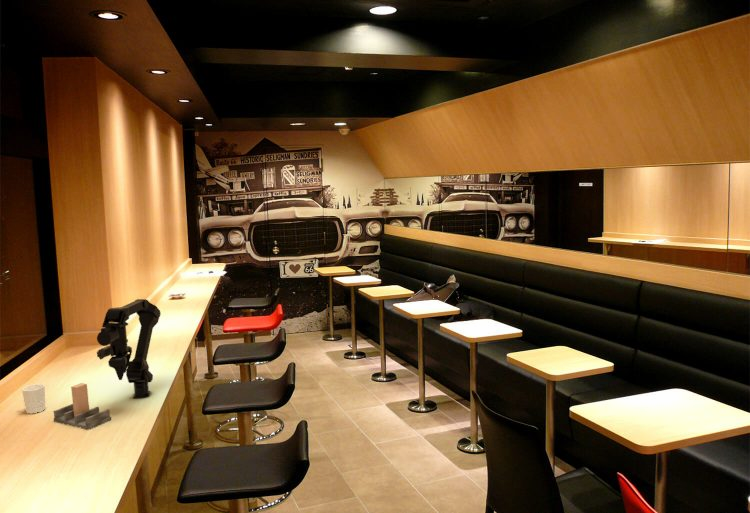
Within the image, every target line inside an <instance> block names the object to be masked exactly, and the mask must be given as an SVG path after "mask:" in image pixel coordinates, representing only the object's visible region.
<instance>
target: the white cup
mask: <svg viewBox="0 0 750 513" xmlns="http://www.w3.org/2000/svg"><path fill="white" fill-rule="evenodd" d="M45 390H46V388H45V384H44V383H37V384H35V383H33V384H29V385H27V386H24V387H23V388H22V389H21V391H22V397H23V403H24V406H25V411H26V412H27V413H26V414H28V413H31V414H30V415H33V414H32V413H36V414H38V413H37V412H40V413H42V412H44V411H45V410H46V391H45ZM44 409H45V410H44ZM43 410H44V411H43ZM41 411H42V412H41Z"/></svg>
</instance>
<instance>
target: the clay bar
mask: <svg viewBox="0 0 750 513" xmlns="http://www.w3.org/2000/svg"><path fill="white" fill-rule="evenodd" d="M70 388H71V398H72V404H73V409H74V416H76V415H78V414H80V413H83V412H85V411H88V410H90V404H89V403H90V402H89V394H88V392H89V391H88V385H87V383H83V382H80V383H78V384H75V385H73V386H71V387H70ZM74 419H75V417H74Z"/></svg>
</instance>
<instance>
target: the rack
mask: <svg viewBox="0 0 750 513" xmlns="http://www.w3.org/2000/svg"><path fill="white" fill-rule="evenodd" d="M53 417H54V418H53V422H55V421H56V422H55V423H58V424H59V423H60V424H63V423H64V424H63V425H67V424H69V425H68V426H71V425H72V427H75V426H77V427H76V428H79V427H81V428H80V429H83V428H85V430H87V429H90V430H92V429H94V428H97V427H99V426H101V425H103V424H105V423H107V422H110V421H112V417H111V410H110V409H109V408H107V409H104V410H101V411H100V407H99V406H95V407H93V408H91V409H90V408H89V410H88V411H85V412H83V413H80V414H78V415H76V416H74V409H73V403H72V404H69V405H65V406H63V407H61V408H58V409H56V410H54V411H53ZM74 417H75V419H74ZM98 425H99V426H98ZM93 427H94V428H93ZM91 428H92V429H91Z"/></svg>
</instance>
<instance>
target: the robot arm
mask: <svg viewBox="0 0 750 513" xmlns="http://www.w3.org/2000/svg"><path fill="white" fill-rule="evenodd" d="M134 314H136V315H137V316H138V321H139V323H140V330H139V334H138V340H137V345H136V350H135V354H134V358H133V359H132V360H131V358H132V357H131V356H132V353H133V348H132V347H131V346H130V345H128V342H129V339H128V338H127V336H128V335H127V328H126V327H127V326H128V325H129V323H128V322H127V321H128V320H129V319H130V317H131V316H132V315H134ZM160 317H161V310H160V309H159V308H158V307H157V305H155V304H153V303H152V302H150V301H149V300H148V299H146V298H144V299H143V298H137V299H134V301H132V302H130V303H127V304H126V305H123V306H121V307H120V306H119V307H111V308H108V309H107V311H106V313H105V317H104V318H103V323H102V326H101V327H102V328H100V331H99V332H98V333H97V335H96V336H97V337H96V341H97V343H98V344H99V345H100V346H104V347H103V348H99V349H98V350H97V351H96V356H97V358H99V360H103V359H104V358H107V357H109V356H110V358H109V360H108V361H107V362H108V367H110V368H112V369H114V370H115V373H116V376H117V378H118V381H122V380H123V377H124V374H125V375H126V379H127V382H128V383H129V384H133V391H134V393H133V396H132V398H133V399H139V398H140V399H141V398H148V397H150V396H151V395H150V394H151V390H149V383H151V382H152V381H153V378H154V374H152V373H151V371H150V365H149V363H148V361H147V358H148V354H149V348H150V344H151V339H152V338H151V337H152V335H153V329H154V327H155V326H156V325H157V324H158V323H159V321H160Z"/></svg>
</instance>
